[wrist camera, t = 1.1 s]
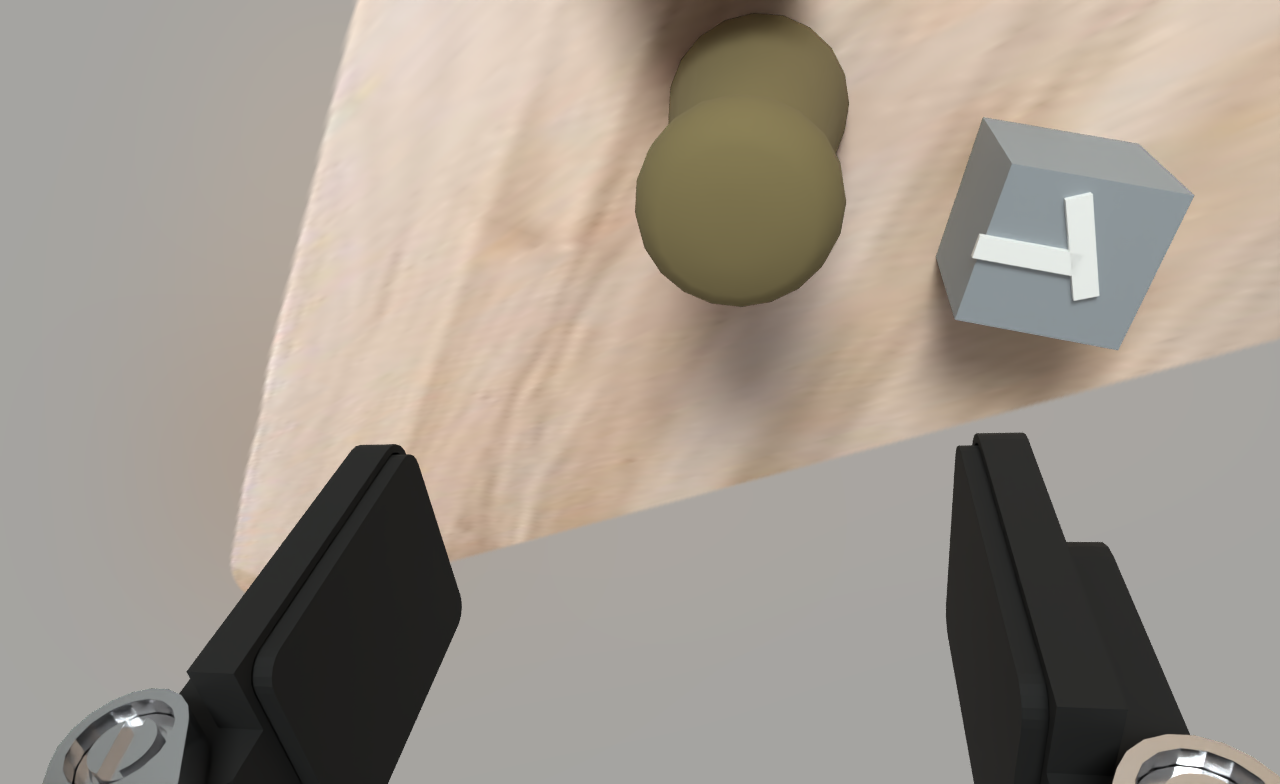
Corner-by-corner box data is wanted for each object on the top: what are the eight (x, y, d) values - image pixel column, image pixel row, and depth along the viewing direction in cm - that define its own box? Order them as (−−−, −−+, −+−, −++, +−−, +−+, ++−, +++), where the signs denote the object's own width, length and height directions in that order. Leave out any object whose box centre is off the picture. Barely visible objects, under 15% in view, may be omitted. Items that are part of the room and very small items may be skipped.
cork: (779, 226, 32) (768, 384, 23) (636, 136, 31) (563, 261, 22) (887, 79, 29) (924, 192, 19) (730, -26, 28) (692, 40, 19)
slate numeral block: (1137, 142, 29) (1197, 197, 24) (1076, 281, 31) (1119, 353, 27) (976, 115, 29) (1006, 164, 25) (929, 255, 32) (948, 321, 27)
